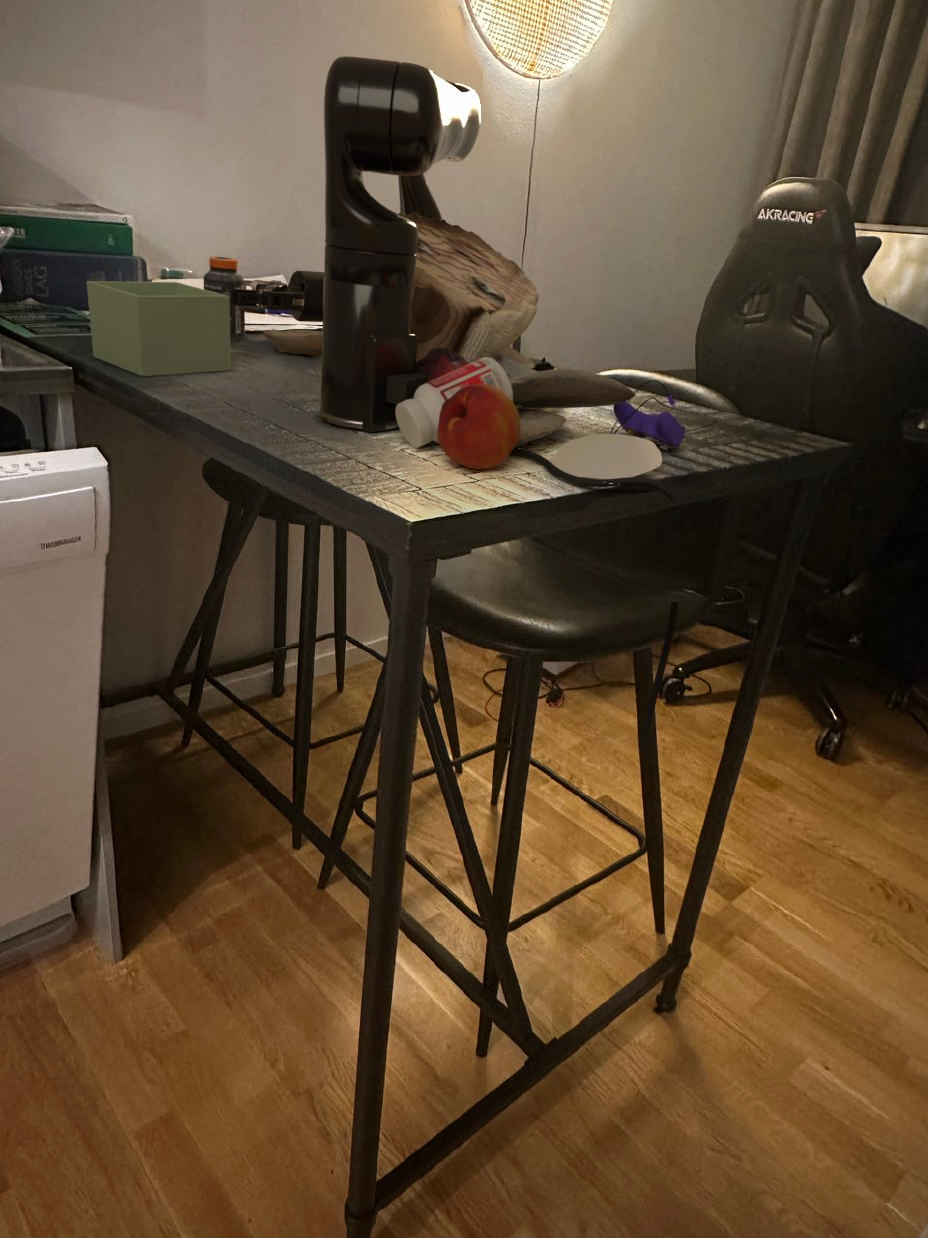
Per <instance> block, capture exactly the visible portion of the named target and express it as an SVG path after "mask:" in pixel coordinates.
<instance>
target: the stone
mask: <svg viewBox="0 0 928 1238" xmlns="http://www.w3.org/2000/svg"><path fill="white" fill-rule="evenodd" d="M519 408H520V407H519ZM517 410H518V413H519V418H520V436H519V440H518V442H517V444H516V445H515V447H518V448H523V447H524V446H526V445H527V444H528V443H529V442H530V441H533V440H534V441H535V440H540V439H542V438H546V437H547V436H549V435H551V434H553V433H555V432H557V431H559V430H560V429H561V428H562V427H563V426H564V424H565V423H566V422H567V418H566V417H565V416H563V415H560V414H557V413H554V412H551V411H549V410H530V408H522V407H521V408H520V409H517Z"/></svg>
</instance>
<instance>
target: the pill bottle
mask: <svg viewBox="0 0 928 1238" xmlns="http://www.w3.org/2000/svg"><path fill="white" fill-rule="evenodd" d="M208 265H209V270H208V271H207V272H205V274H203V289H204V290H208V291H212V292H215V293H219V294H223V295H226V296H229V301H230V341H239V340H242V339H244V338H245V336H246V334H245V333H246V327H245V326H246V323H245V322H246V320H245V319H246V317H245V306H239V305H233V304H232V303H231V290H232V289H244V280H245V279H244V277H243V276H242V275H241V274H239V273H238V268H239V267H238V259H236V258H232V257H225V256H210V257H209V263H208Z"/></svg>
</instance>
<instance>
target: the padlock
mask: <svg viewBox="0 0 928 1238" xmlns="http://www.w3.org/2000/svg"><path fill="white" fill-rule="evenodd" d="M495 361H496V362H497V363H498V364H499V365H500V366H501V367H502V368H503V370H504V371H505V373H506V374H507V376H508V378H509V379H510V378H513V377H517V376H521V375H525V374H529V373H534V372H537V371H535V370H533V369H531V368H529V367H527V366H525V365H523V364H521V363H519V362H517V361H514V360H512V359H510V358H508V357H506V356H504V355H502V354H499V355H498V357H497V358H496V360H495ZM537 409H538V410H539V411H543V409H544V408H537Z"/></svg>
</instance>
